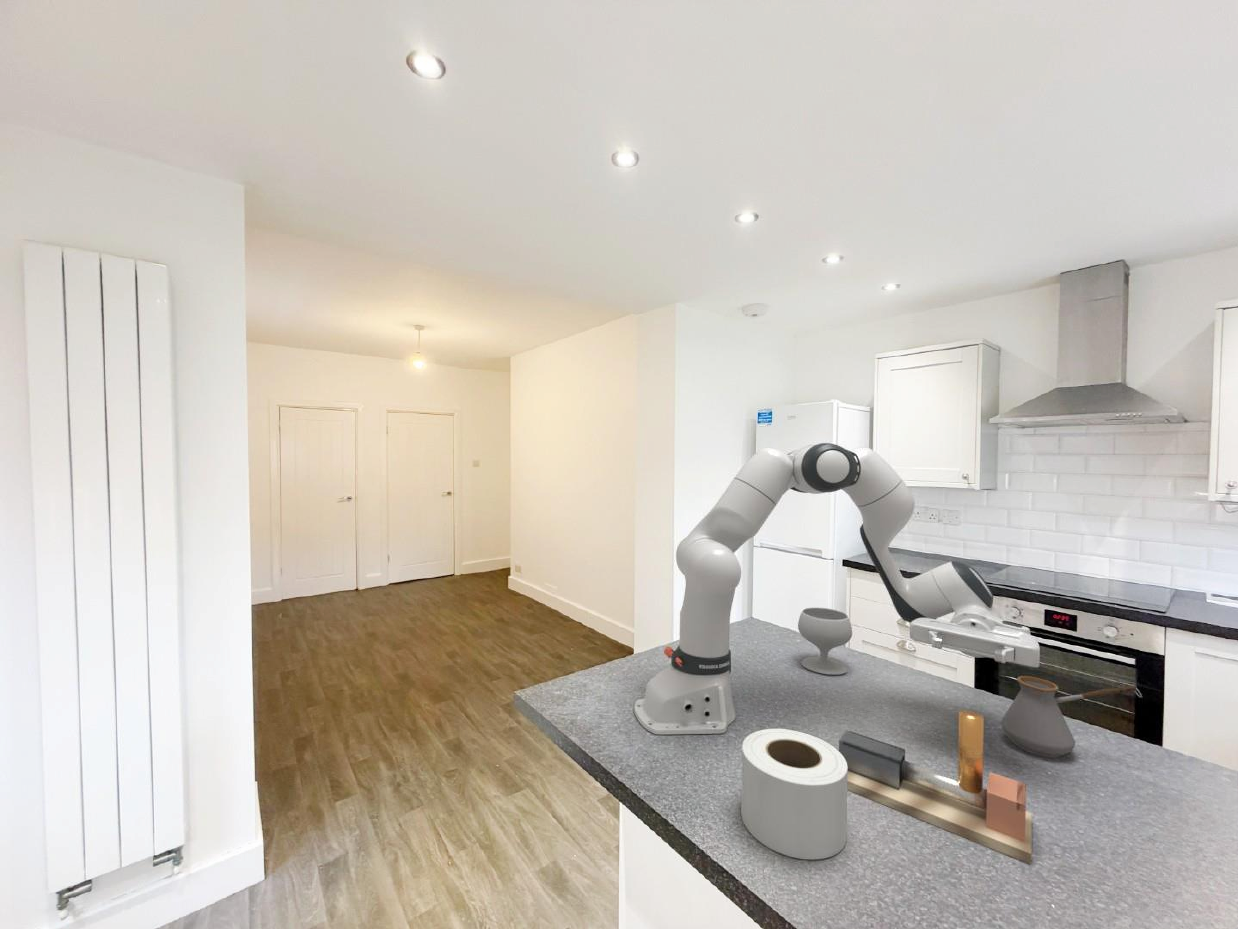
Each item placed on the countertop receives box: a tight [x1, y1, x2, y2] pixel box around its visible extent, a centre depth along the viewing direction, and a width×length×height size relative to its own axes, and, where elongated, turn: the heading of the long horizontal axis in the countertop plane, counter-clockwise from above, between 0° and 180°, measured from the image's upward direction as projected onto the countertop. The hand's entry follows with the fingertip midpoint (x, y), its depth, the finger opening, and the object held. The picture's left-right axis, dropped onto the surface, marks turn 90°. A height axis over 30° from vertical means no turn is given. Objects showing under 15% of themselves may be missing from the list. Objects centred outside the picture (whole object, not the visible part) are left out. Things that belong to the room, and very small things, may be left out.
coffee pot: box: [1000, 675, 1143, 758], centre depth 98 cm, size 21×12×15 cm, turn 67°
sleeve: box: [838, 729, 906, 790], centre depth 88 cm, size 10×5×5 cm, turn 50°
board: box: [847, 771, 1032, 865], centre depth 82 cm, size 27×11×2 cm, turn 50°
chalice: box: [797, 607, 853, 676], centre depth 138 cm, size 14×14×15 cm
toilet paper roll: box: [740, 728, 848, 860], centre depth 77 cm, size 16×15×11 cm
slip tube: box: [900, 709, 987, 811], centre depth 80 cm, size 16×3×14 cm, turn 50°
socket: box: [986, 771, 1027, 842], centre depth 76 cm, size 4×7×5 cm
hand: (967, 650), depth 90 cm, fingers open, 8 cm apart
